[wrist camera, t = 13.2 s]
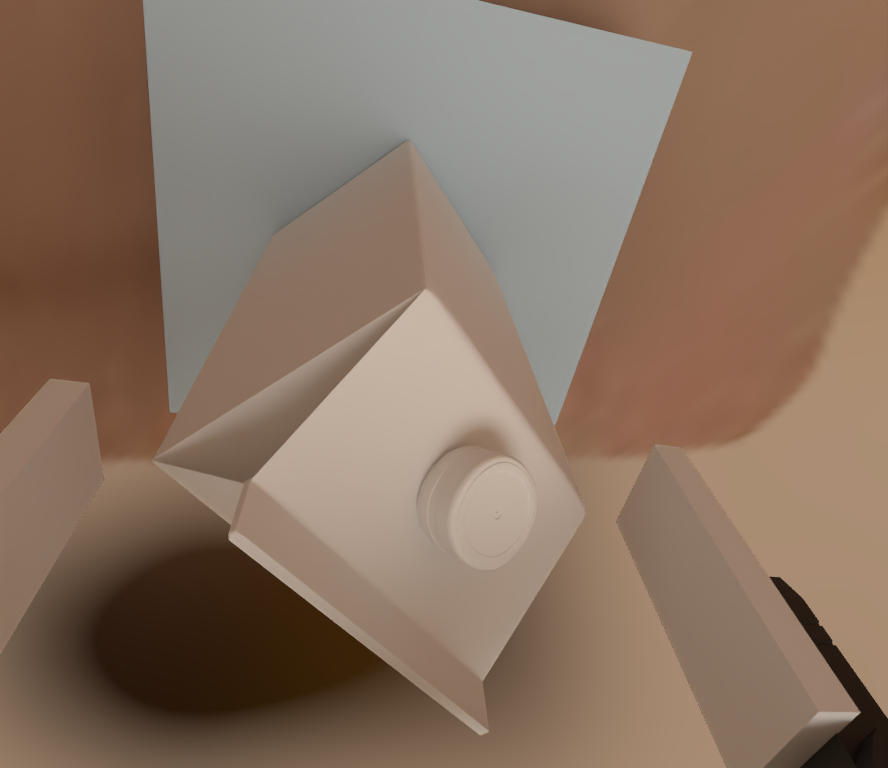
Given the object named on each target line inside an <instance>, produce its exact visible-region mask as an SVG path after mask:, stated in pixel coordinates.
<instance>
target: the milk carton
mask: <svg viewBox="0 0 888 768" xmlns="http://www.w3.org/2000/svg"><path fill="white" fill-rule="evenodd" d="M152 462H153V463H154V464H156V465H157V466H158V467H159V468H160V469H162V470H163V471H164V472H165V473H167V474H168V475H169V476H170V477H171V478H173V479H174V480H175V481H176V482H178V483H179V484H180V485H181V486H183V487H184V488H185V489H186V490H188V491H189V492H190V493H191V494H193V495H194V496H195V497H197V498H198V499H199V500H200V501H202V502H203V503H204V504H205V505H206V506H208V507H209V508H210V509H212V510H213V511H214V512H215V513H217V514H218V515H219V516H220V517H222V518H223V519H224V520H225V521H227V522H228V523H229V524H230V525H231V527H230V531H229V540H230V541H231V542H233V543H234V544H235V545H236V546H237V547H239V548H240V549H241V550H243V551H244V552H245V553H247V554H248V555H249V556H250V557H252V558H253V559H254V560H256V561H257V562H258V563H259V564H261V565H262V566H263V567H265V568H266V569H267V570H268V571H270V572H271V573H272V574H274V575H275V576H276V577H277V578H279V579H280V580H281V581H282V582H284V583H285V584H286V585H288V586H289V587H290V588H291V589H293V590H294V591H295V592H297V593H298V594H299V595H301V596H302V597H303V598H304V599H306V600H307V601H308V602H310V603H311V604H312V605H313V606H315V607H316V608H317V609H318V610H320V611H321V612H322V613H324V614H325V615H326V616H328V617H329V618H330V619H331V620H333V621H334V622H335V623H337V624H338V625H339V626H340V627H342V628H343V629H344V630H346V631H347V632H348V633H349V634H351V635H352V636H353V637H354V638H356V639H357V640H358V641H360V642H361V643H362V644H364V645H365V646H366V647H367V648H369V649H370V650H371V651H373V652H374V653H375V654H376V655H378V656H379V657H380V658H382V659H383V660H384V661H386V662H387V663H388V664H389V665H391V666H392V667H393V668H394V669H396V670H397V671H398V672H399V673H401V674H402V675H403V676H405V677H406V678H407V679H409V680H410V681H411V682H413V683H414V684H415V685H416V686H417V687H419V688H420V689H421V690H423V691H424V692H425V693H426V694H428V695H429V696H430V697H432V698H433V699H434V700H435V701H437V702H438V703H439V704H441V705H442V706H443V707H445V708H446V709H447V710H448V711H450V712H451V713H452V714H454V715H455V716H456V717H457V718H459V719H460V720H461V721H463V722H464V723H465V724H466V725H468V726H469V727H470V728H471V729H473V730H474V731H475V732H477V733H478V734H479V735H483V734H485V733H487V732H489V728H488V720H487V713H486V706H485V698H484V691H483V684H482V681H483V680H484V678H485V677H486V675H487V674H488V672H489V670H490V669H491V667H492V666H493V664H494V662H495V661H496V659H497V658H498V656H499V654H500V653H501V651H502V649H503V648H504V646H505V645H506V643H507V641H508V640H509V638H510V636H511V635H512V633H513V632H514V630H515V629H516V627H517V625H518V624H519V622H520V621H521V619H522V617H523V616H524V614H525V612H526V611H527V609H528V608H529V606H530V604H531V602H532V601H533V599H534V598H535V596H536V595H537V593H538V592H539V590H540V588H541V587H542V585H543V584H544V582H545V580H546V579H547V577H548V575H549V573H550V572H551V571H552V569H553V567H554V566H555V564H556V563H557V561H558V559H559V558H560V556H561V554H562V553H563V551H564V550H565V548H566V546H567V545H568V543H569V542H570V540H571V538H572V537H573V535H574V533H575V532H576V530H577V529H578V527H579V525H580V524H581V522H582V520H583V519H584V517H585V509H584V504H583V500H582V497H581V495H580V492H579V489H578V486H577V484H576V481H575V479H574V476H573V473H572V471H571V468H570V466H569V463H568V460H567V458H566V455H565V453H564V450H563V448H562V445H561V442H560V440H559V437H558V435H557V432H556V430H555V427H554V425H553V422H552V419H551V417H550V414H549V412H548V409H547V407H546V404H545V401H544V399H543V396H542V394H541V391H540V389H539V386H538V384H537V381H536V378H535V376H534V373H533V371H532V368H531V366H530V363H529V361H528V358H527V355H526V353H525V350H524V348H523V345H522V343H521V340H520V337H519V335H518V332H517V330H516V327H515V325H514V322H513V320H512V317H511V314H510V312H509V309H508V307H507V304H506V302H505V299H504V296H503V294H502V291H501V289H500V286H499V284H498V281H497V279H496V276H495V274H494V272H493V270H492V269H491V267H490V265H489V264H488V262H487V261H486V259H485V257H484V256H483V254H482V253H481V251H480V249H479V248H478V246H477V245H476V243H475V241H474V240H473V238H472V237H471V235H470V233H469V232H468V230H467V229H466V227H465V225H464V224H463V222H462V221H461V219H460V217H459V216H458V214H457V213H456V211H455V209H454V208H453V206H452V205H451V203H450V202H449V200H448V198H447V197H446V195H445V194H444V192H443V190H442V189H441V187H440V186H439V184H438V182H437V181H436V179H435V178H434V176H433V174H432V173H431V171H430V170H429V168H428V166H427V165H426V163H425V162H424V160H423V159H422V157H421V155H420V154H419V152H418V151H417V149H416V148H415V146H414V145H413V143H412V142H411V141H409V140H408V141H406V142H404V143H403V144H401V145H400V146H399V147H397V148H396V149H394V150H393V151H392V152H390V153H389V154H387V155H386V156H384V157H383V158H382V159H380V160H379V161H377V162H376V163H375V164H373V165H372V166H370V167H369V168H367V169H366V170H365V171H363V172H362V173H360V174H359V175H358V176H356V177H355V178H353V179H352V180H350V181H349V182H348V183H346V184H345V185H343V186H342V187H341V188H339V189H338V190H336V191H335V192H333V193H332V194H331V195H329V196H328V197H326V198H325V199H324V200H322V201H321V202H319V203H318V204H316V205H315V206H314V207H312V208H311V209H309V210H308V211H307V212H305V213H304V214H302V215H301V216H299V217H298V218H297V219H295V220H294V221H292V222H291V223H290V224H288V225H287V226H285V227H284V228H282V229H281V230H280V231H278V232H277V233H275V234H274V235H273V236H272V238H271V240H270V242H269V244H268V245H267V247H266V249H265V251H264V253H263V255H262V257H261V259H260V260H259V262H258V264H257V266H256V268H255V270H254V272H253V273H252V275H251V277H250V279H249V281H248V283H247V285H246V287H245V288H244V290H243V292H242V294H241V296H240V298H239V300H238V302H237V303H236V305H235V307H234V309H233V311H232V313H231V315H230V316H229V318H228V320H227V322H226V324H225V326H224V328H223V330H222V331H221V333H220V335H219V337H218V339H217V341H216V343H215V345H214V346H213V348H212V350H211V352H210V354H209V356H208V358H207V359H206V361H205V363H204V365H203V367H202V369H201V371H200V373H199V374H198V376H197V378H196V380H195V382H194V384H193V386H192V388H191V389H190V391H189V393H188V395H187V397H186V399H185V401H184V402H183V404H182V406H181V408H180V410H179V412H178V414H177V416H176V417H175V419H174V421H173V423H172V425H171V427H170V429H169V431H168V432H167V434H166V436H165V438H164V440H163V442H162V444H161V445H160V447H159V449H158V451H157V453H156V455H155V457H154V458H153V459H152Z"/></svg>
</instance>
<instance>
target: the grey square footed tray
mask: <svg viewBox="0 0 888 768" xmlns="http://www.w3.org/2000/svg"><path fill="white" fill-rule="evenodd" d="M143 9H144V24H145V40H146V55H147V71H148V86H149V101H150V117H151V132H152V148H153V163H154V178H155V194H156V209H157V225H158V240H159V255H160V271H161V286H162V302H163V317H164V332H165V348H166V363H167V379H168V394H169V409H170V412H172V413H178V412H179V410H180V408H181V406H182V404H183V402H184V401H185V399H186V397H187V395H188V393H189V391H190V389H191V388H192V386H193V384H194V382H195V380H196V378H197V376H198V374H199V373H200V371H201V369H202V367H203V365H204V363H205V361H206V359H207V358H208V356H209V354H210V352H211V350H212V348H213V346H214V345H215V343H216V341H217V339H218V337H219V335H220V333H221V331H222V330H223V328H224V326H225V324H226V322H227V320H228V318H229V316H230V315H231V313H232V311H233V309H234V307H235V305H236V303H237V302H238V300H239V298H240V296H241V294H242V292H243V290H244V288H245V287H246V285H247V283H248V281H249V279H250V277H251V275H252V273H253V272H254V270H255V268H256V266H257V264H258V262H259V260H260V259H261V257H262V255H263V253H264V251H265V249H266V247H267V245H268V244H269V242H270V240H271V238H272V236H273V235H274V234H275V233H277V232H278V231H280V230H281V229H282V228H284V227H285V226H287V225H288V224H290V223H291V222H292V221H294V220H295V219H297V218H298V217H299V216H301V215H302V214H304V213H305V212H307V211H308V210H309V209H311V208H312V207H314V206H315V205H316V204H318V203H319V202H321V201H322V200H324V199H325V198H326V197H328V196H329V195H331V194H332V193H333V192H335V191H336V190H338V189H339V188H341V187H342V186H343V185H345V184H346V183H348V182H349V181H350V180H352V179H353V178H355V177H356V176H358V175H359V174H360V173H362V172H363V171H365V170H366V169H367V168H369V167H370V166H372V165H373V164H375V163H376V162H377V161H379V160H380V159H382V158H383V157H384V156H386V155H387V154H389V153H390V152H392V151H393V150H394V149H396V148H397V147H399V146H400V145H401V144H403V143H404V142H406V141H408V140H409V141H411V142H412V143H413V145H414V146H415V148H416V149H417V151H418V152H419V154H420V155H421V157H422V159H423V160H424V162H425V163H426V165H427V166H428V168H429V170H430V171H431V173H432V174H433V176H434V178H435V179H436V181H437V182H438V184H439V186H440V187H441V189H442V190H443V192H444V194H445V195H446V197H447V198H448V200H449V202H450V203H451V205H452V206H453V208H454V209H455V211H456V213H457V214H458V216H459V217H460V219H461V221H462V222H463V224H464V225H465V227H466V229H467V230H468V232H469V233H470V235H471V237H472V238H473V240H474V241H475V243H476V245H477V246H478V248H479V249H480V251H481V253H482V254H483V256H484V257H485V259H486V261H487V262H488V264H489V265H490V267H491V269H492V270H493V272H494V274H495V276H496V279H497V281H498V284H499V286H500V289H501V291H502V294H503V296H504V299H505V302H506V304H507V307H508V309H509V312H510V314H511V317H512V320H513V322H514V325H515V327H516V330H517V332H518V335H519V337H520V340H521V343H522V345H523V348H524V350H525V353H526V355H527V358H528V361H529V363H530V366H531V368H532V371H533V373H534V376H535V378H536V381H537V384H538V386H539V389H540V391H541V394H542V396H543V399H544V401H545V404H546V407H547V409H548V412H549V414H550V417H551V419H552V422H553V425H554V427H555V424H556V422H557V419H558V416H559V413H560V411H561V408H562V405H563V403H564V400H565V397H566V394H567V392H568V389H569V386H570V384H571V381H572V378H573V375H574V373H575V370H576V367H577V365H578V362H579V359H580V356H581V354H582V351H583V348H584V346H585V343H586V340H587V337H588V335H589V332H590V329H591V326H592V324H593V321H594V318H595V316H596V313H597V310H598V307H599V305H600V302H601V299H602V297H603V294H604V291H605V288H606V286H607V283H608V280H609V278H610V275H611V272H612V269H613V267H614V264H615V261H616V259H617V256H618V253H619V250H620V248H621V245H622V242H623V239H624V237H625V234H626V231H627V229H628V226H629V223H630V220H631V218H632V215H633V212H634V210H635V207H636V204H637V201H638V199H639V196H640V193H641V191H642V188H643V185H644V182H645V180H646V177H647V174H648V172H649V169H650V166H651V163H652V161H653V158H654V155H655V153H656V150H657V147H658V144H659V142H660V139H661V136H662V133H663V131H664V128H665V125H666V123H667V120H668V117H669V114H670V112H671V109H672V106H673V104H674V101H675V98H676V95H677V93H678V90H679V87H680V85H681V82H682V79H683V76H684V74H685V71H686V68H687V66H688V63H689V60H690V57H691V55H692V52H690V51H686V50H682V49H678V48H674V47H670V46H665V45H661V44H657V43H653V42H649V41H645V40H641V39H636V38H632V37H628V36H624V35H620V34H616V33H612V32H607V31H603V30H599V29H595V28H591V27H587V26H583V25H578V24H574V23H570V22H566V21H562V20H558V19H553V18H549V17H545V16H541V15H537V14H533V13H529V12H524V11H520V10H516V9H512V8H508V7H504V6H500V5H495V4H491V3H487V2H483V1H479V0H143Z"/></svg>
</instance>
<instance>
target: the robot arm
mask: <svg viewBox="0 0 888 768" xmlns="http://www.w3.org/2000/svg"><path fill="white" fill-rule="evenodd" d="M103 481H104V475H103V469H102V462H101V455H100V449H99V442H98V435H97V429H96V422H95V415H94V409H93V402H92V396H91V389H90V383H86V382H77V381H68V380H59V379H49V380H48V381H47V382H46V384H45V385H44V386H43V387H42V388H41V389H40V390H39V391H38V392H37V394H36V395H35V396H34V397H33V398H32V399H31V400H30V401H29V402H28V403H27V405H26V406H25V407H24V408H23V409H22V410H21V411H20V412H19V413H18V415H17V416H16V417H15V418H14V419H13V420H12V421H11V422H10V423H9V425H8V426H7V427H6V428H5V429H4V430H3V431H2V432H1V433H0V653H1V652H2V650H3V649H4V647H5V645H6V643H7V642H8V640H9V638H10V637H11V635H12V633H13V632H14V630H15V628H16V626H17V625H18V623H19V622H20V620H21V618H22V617H23V615H24V613H25V612H26V610H27V608H28V607H29V605H30V603H31V602H32V600H33V598H34V596H35V595H36V593H37V591H38V590H39V588H40V586H41V585H42V583H43V581H44V580H45V578H46V576H47V575H48V573H49V571H50V570H51V568H52V566H53V565H54V563H55V561H56V560H57V558H58V556H59V555H60V553H61V551H62V550H63V548H64V546H65V544H66V543H67V541H68V539H69V538H70V535H71V534H72V533H73V531H74V529H75V528H76V526H77V524H78V523H79V521H80V519H81V518H82V516H83V514H84V512H85V511H86V509H87V508H88V506H89V504H90V503H91V501H92V499H93V497H94V495H95V494H96V492H97V491H98V489H99V487H100V485H101V484H102V482H103ZM616 522H617V524H618V527H619V529H620V531H621V534H622V535H623V538H624V540H625V542H626V545H627V547H628V549H629V551H630V554H631V556H632V558H633V560H634V562H635V565H636V567H637V569H638V571H639V574H640V576H641V578H642V580H643V583H644V585H645V587H646V589H647V591H648V594H649V596H650V598H651V600H652V603H653V605H654V607H655V609H656V611H657V614H658V616H659V618H660V620H661V623H662V625H663V627H664V629H665V632H666V634H667V636H668V638H669V640H670V643H671V645H672V647H673V649H674V652H675V654H676V656H677V658H678V661H679V663H680V665H681V667H682V669H683V672H684V674H685V676H686V678H687V681H688V683H689V685H690V687H691V689H692V692H693V694H694V696H695V698H696V700H697V703H698V705H699V707H700V709H701V712H702V714H703V716H704V718H705V721H706V723H707V725H708V727H709V730H710V732H711V734H712V736H713V738H714V741H715V743H716V745H717V747H718V750H719V752H720V754H721V756H722V758H723V760H724V763H725V765H726V767H727V768H888V718H887V717H886V716H885V714H884V713H883V711H882V710H881V709H880V707H879V706H878V704H877V703H876V702H875V700H874V699H873V697H872V696H871V695H870V693H869V692H868V690H867V689H866V687H865V686H864V685H863V683H862V682H861V680H860V679H859V678H858V676H857V675H856V673H855V672H854V670H853V669H852V668H851V666H850V665H849V663H848V662H847V661H846V659H845V658H844V656H843V655H842V653H841V652H840V651H839V649H838V648H837V647H836V646H835V645H833V644H832V639H831V638H830V636H829V635H828V634H827V632H826V631H825V629H824V628H823V627H822V626H819V621H818V620H817V618H816V617H815V615H814V614H813V612H812V611H811V610H810V608H809V607H808V605H807V604H806V602H805V601H804V600H803V599H802V597H801V596H799V595H798V594H797V593H796V592H795V591H794V590H793V589H792V588H791V587H790V586H788V584H786V583H785V582H784V581H783V580H782V579H781V578H780V577H769V576H768V574H767V573H766V572H765V570H764V569H763V567H762V566H761V564H760V563H759V561H758V560H757V558H756V557H755V555H754V554H753V552H752V551H751V549H750V548H749V546H748V545H747V543H746V542H745V540H744V539H743V537H742V536H741V535H740V533H739V532H738V530H737V529H736V527H735V526H734V524H733V523H732V521H731V520H730V518H729V517H728V515H727V514H726V512H725V511H724V509H723V508H722V506H721V505H720V503H719V502H718V500H717V499H716V497H715V496H714V495H713V493H712V492H711V490H710V488H709V487H708V486H707V484H706V483H705V481H704V480H703V478H702V477H701V475H700V474H699V472H698V471H697V469H696V468H695V466H694V465H693V463H692V462H691V461H690V459H689V457H688V456H687V454H686V453H685V451H684V450H683V448H682V447H675V446H666V445H657V444H654V446H653V448H652V450H651V452H650V454H649V456H648V458H647V460H646V462H645V464H644V466H643V468H642V470H641V472H640V474H639V476H638V478H637V480H636V482H635V485H634V486H633V488H632V491H631V492H630V494H629V497H628V499H627V501H626V503H625V505H624V507H623V509H622V511H621V513H620V515H619V517H618V519H617V521H616Z"/></svg>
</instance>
